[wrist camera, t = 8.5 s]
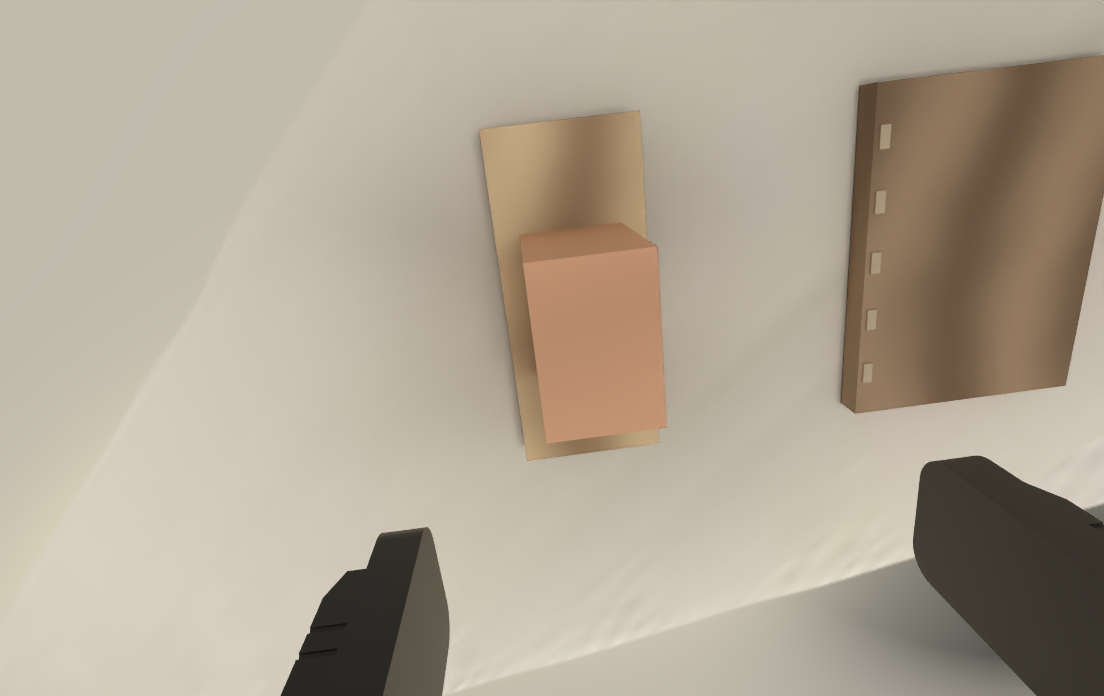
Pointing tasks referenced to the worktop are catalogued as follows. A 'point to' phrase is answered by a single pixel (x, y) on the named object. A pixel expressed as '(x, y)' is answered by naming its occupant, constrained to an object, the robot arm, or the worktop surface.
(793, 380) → the worktop surface
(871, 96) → the brown notebook
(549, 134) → the stub
